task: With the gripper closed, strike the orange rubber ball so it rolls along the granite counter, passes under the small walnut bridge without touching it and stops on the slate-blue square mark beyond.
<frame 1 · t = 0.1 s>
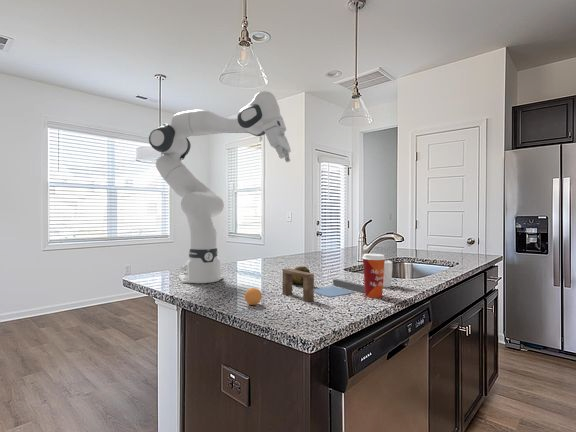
hand: (285, 159, 142), 52 cm above the worktop, tool tilted 20°, fingers open, 8 cm apart
coffee cup: (373, 296, 124), on the worktop
bridge: (297, 297, 122), on the worktop
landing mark: (331, 291, 131), on the worktop
white cup: (382, 286, 142), on the worktop
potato: (298, 284, 144), on the worktop
stopper: (350, 289, 136), on the worktop
ball: (253, 296, 111), on the worktop
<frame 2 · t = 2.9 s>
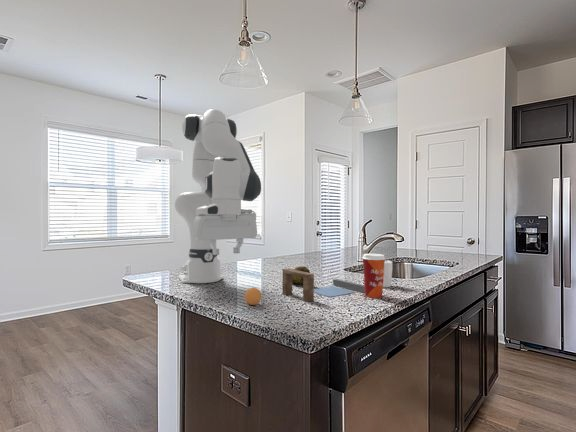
hand: (226, 253, 106), 17 cm above the worktop, tool pointing down, fingers open, 5 cm apart
nothing on the worktop moved.
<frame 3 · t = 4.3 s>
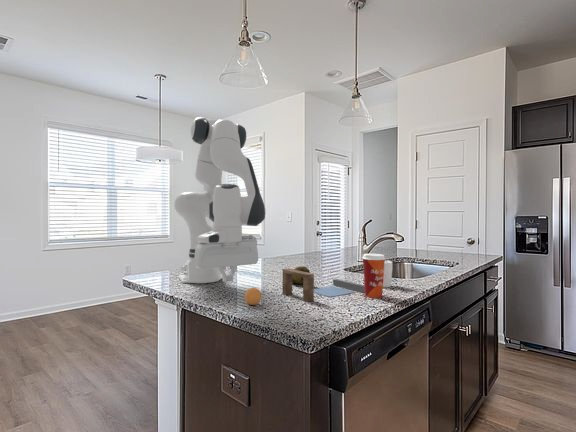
hand: (227, 281, 106), 9 cm above the worktop, tool pointing down, fingers closed
nothing on the worktop moved.
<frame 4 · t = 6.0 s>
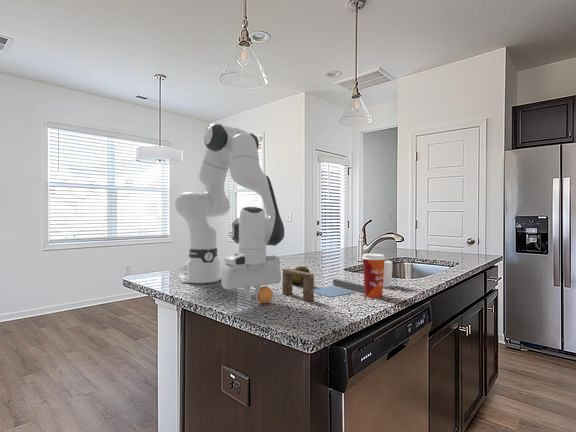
hand: (252, 299, 111), 2 cm above the worktop, tool pointing down, fingers closed
ball: (264, 294, 113), on the worktop
everything else where it was.
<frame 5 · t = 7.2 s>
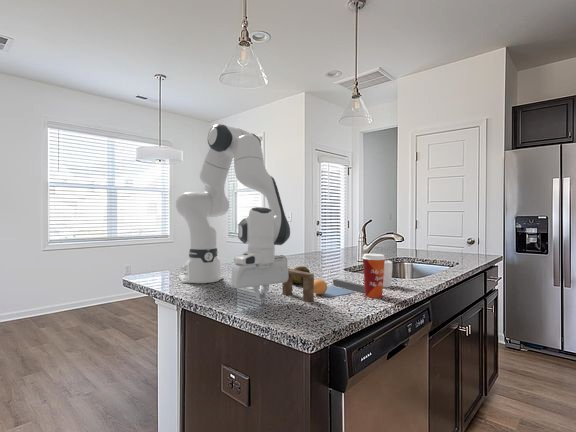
hand: (261, 298, 113), 2 cm above the worktop, tool pointing down, fingers closed
ball: (319, 287, 126), on the worktop
everything else where it was.
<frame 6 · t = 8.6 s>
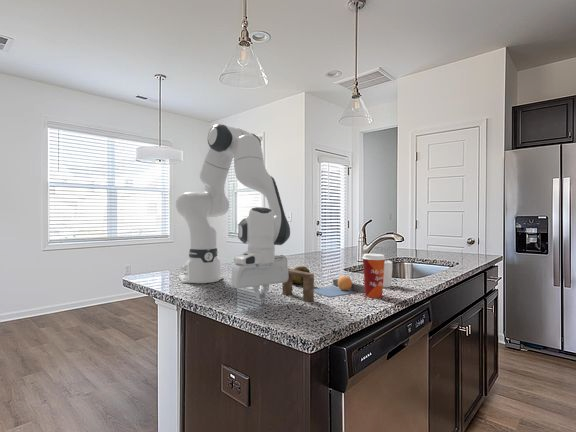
hand: (261, 298, 113), 2 cm above the worktop, tool pointing down, fingers closed
ball: (344, 283, 133), on the worktop
everything else where it was.
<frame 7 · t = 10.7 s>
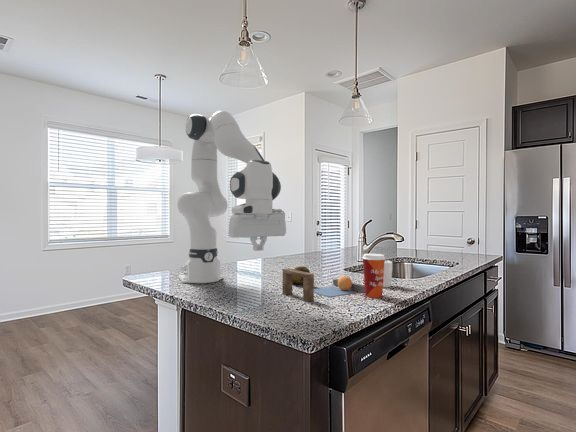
hand: (258, 250, 113), 17 cm above the worktop, tool pointing down, fingers closed
nothing on the worktop moved.
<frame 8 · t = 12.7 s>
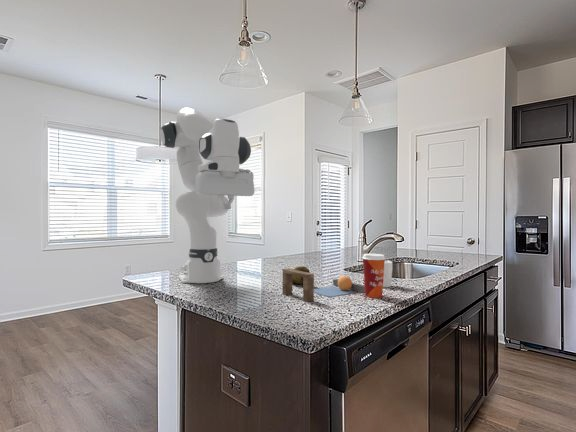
hand: (225, 209, 114), 31 cm above the worktop, tool pointing down, fingers closed
nothing on the worktop moved.
at the end: ball 5.9 cm from the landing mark (horizontally); ball never touched bridge; ball at rest at the end (0.0 cm/s) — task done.
